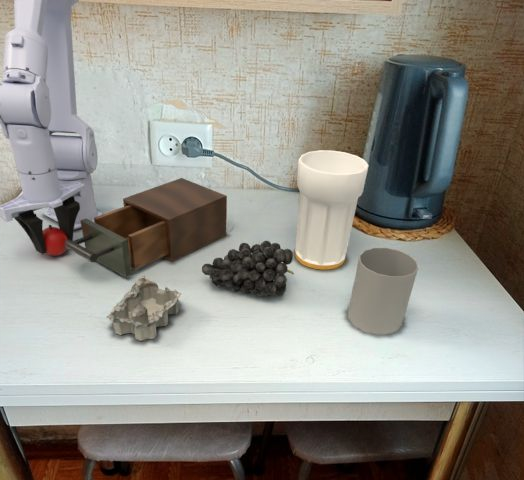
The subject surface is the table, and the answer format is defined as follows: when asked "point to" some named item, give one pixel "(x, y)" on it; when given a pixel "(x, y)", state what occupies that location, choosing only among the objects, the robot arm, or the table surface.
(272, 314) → the table surface
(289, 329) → the table surface
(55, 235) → the apple
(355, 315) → the cup
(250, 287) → the fruit
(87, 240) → the drawer
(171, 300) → the egg carton
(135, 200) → the cabinet
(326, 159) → the cup
